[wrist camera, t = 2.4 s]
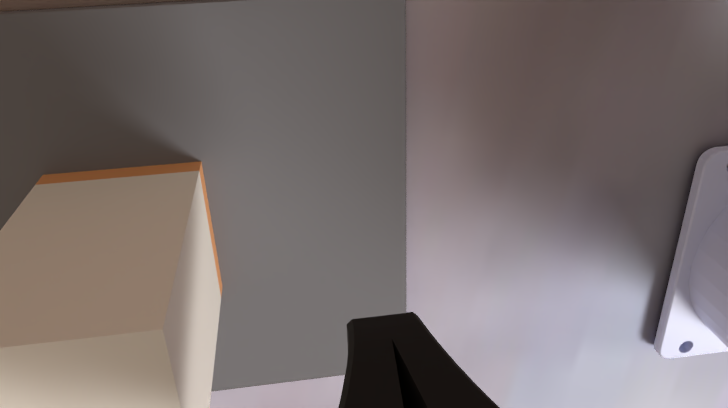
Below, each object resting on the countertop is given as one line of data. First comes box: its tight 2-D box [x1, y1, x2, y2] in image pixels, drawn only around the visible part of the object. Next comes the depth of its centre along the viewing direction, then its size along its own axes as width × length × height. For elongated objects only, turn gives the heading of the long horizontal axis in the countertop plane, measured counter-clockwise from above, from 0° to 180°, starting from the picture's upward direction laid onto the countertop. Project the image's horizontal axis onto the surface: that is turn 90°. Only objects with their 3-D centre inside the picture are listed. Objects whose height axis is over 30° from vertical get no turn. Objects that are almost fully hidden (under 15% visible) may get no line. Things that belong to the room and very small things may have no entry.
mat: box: [0, 0, 406, 391], centre depth 17 cm, size 18×12×1 cm, turn 91°
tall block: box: [0, 161, 222, 408], centre depth 14 cm, size 4×4×7 cm
